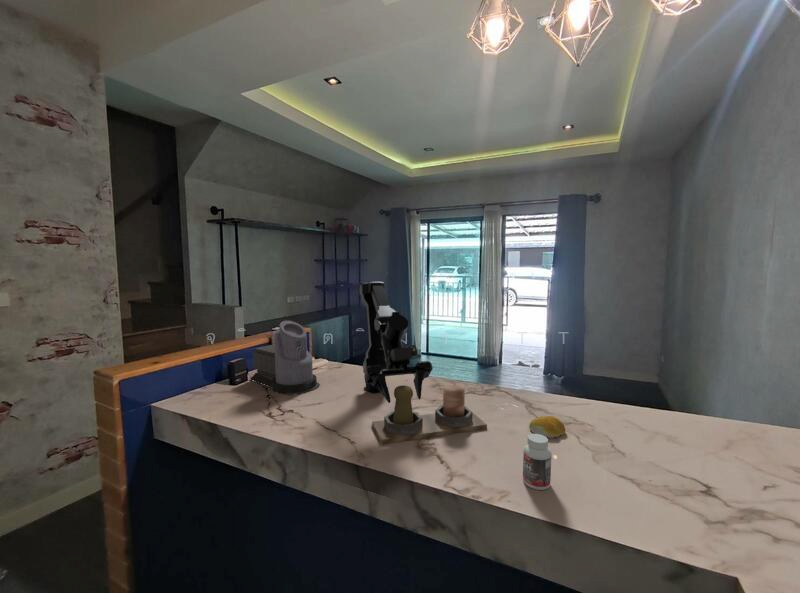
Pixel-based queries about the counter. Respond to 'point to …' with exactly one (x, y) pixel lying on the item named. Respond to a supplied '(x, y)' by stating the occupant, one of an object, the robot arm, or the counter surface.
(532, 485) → the pill bottle
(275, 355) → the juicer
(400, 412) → the olive green peg
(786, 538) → the counter surface
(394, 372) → the robot arm
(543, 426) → the bread roll
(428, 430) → the rail
